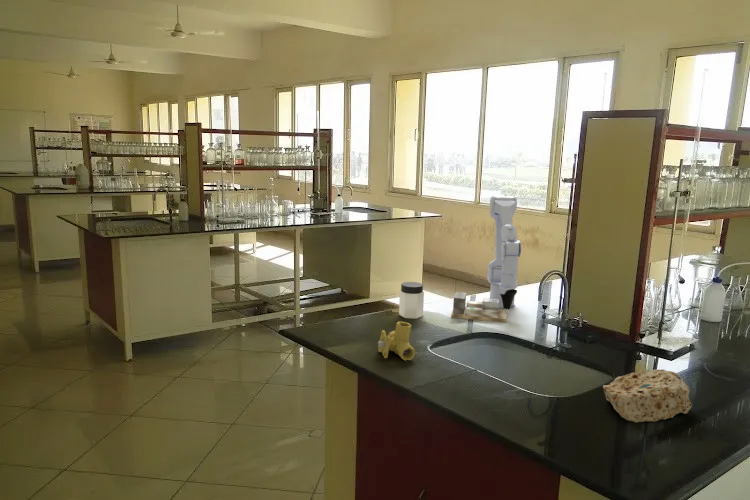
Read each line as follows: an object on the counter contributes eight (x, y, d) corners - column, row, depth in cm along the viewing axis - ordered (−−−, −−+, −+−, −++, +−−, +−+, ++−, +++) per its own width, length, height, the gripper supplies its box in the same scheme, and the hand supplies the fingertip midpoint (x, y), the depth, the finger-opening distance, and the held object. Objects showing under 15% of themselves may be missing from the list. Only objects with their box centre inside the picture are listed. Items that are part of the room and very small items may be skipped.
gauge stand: (505, 313, 216) (507, 295, 214) (506, 322, 204) (507, 303, 203) (453, 308, 220) (454, 290, 219) (451, 317, 208) (452, 298, 207)
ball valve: (399, 348, 178) (370, 347, 174) (406, 317, 176) (376, 315, 172) (415, 365, 166) (383, 364, 163) (421, 333, 164) (390, 331, 161)
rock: (640, 433, 128) (633, 390, 128) (597, 418, 142) (591, 379, 142) (708, 412, 134) (702, 370, 134) (661, 400, 148) (655, 362, 148)
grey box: (498, 311, 213) (499, 298, 212) (498, 317, 205) (498, 304, 204) (482, 310, 214) (482, 297, 213) (481, 316, 206) (482, 303, 205)
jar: (423, 312, 214) (424, 282, 211) (422, 319, 206) (424, 287, 203) (399, 311, 214) (400, 281, 212) (398, 318, 206) (399, 286, 204)
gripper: (505, 268, 215) (503, 302, 218) (491, 275, 203) (489, 311, 205) (523, 271, 211) (521, 305, 214) (510, 278, 199) (508, 314, 202)
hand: (506, 308), depth 209 cm, fingers closed
